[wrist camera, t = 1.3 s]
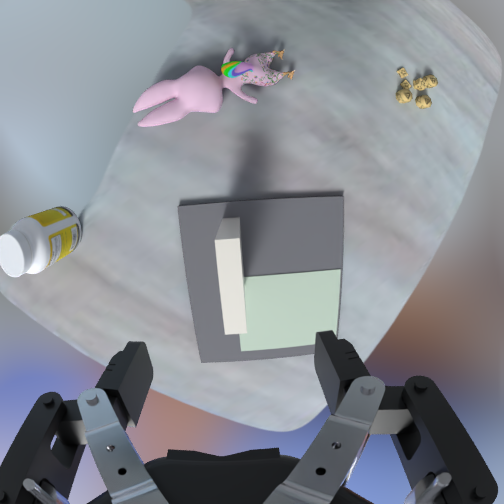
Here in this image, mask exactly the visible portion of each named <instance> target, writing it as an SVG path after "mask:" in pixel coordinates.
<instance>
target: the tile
mask: <svg viewBox="0 0 504 504" xmlns="http://www.w3.org/2000/svg"><path fill="white" fill-rule="evenodd" d="M215 249H216V259H217V269H218V278H219V288H220V296H221V305H222V314H223V322H224V330H225V335H228V334H244V333H247V321H246V301H245V283H244V270H243V257H242V243H241V230H240V217H236V218H223V219H222V222H221V224H220V227H219V230H218V232H217V235H216V238H215Z"/></svg>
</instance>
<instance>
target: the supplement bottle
mask: <svg viewBox="0 0 504 504" xmlns="http://www.w3.org/2000/svg"><path fill="white" fill-rule="evenodd" d="M81 233H82V231H81V225H80V222H79V219H78V217H77V216H76V214H75V213H74V212H73V211H72V210H71V209H69V208H67V207H62V206H61V207H56V208H52V209H49V210H46V211H43V212H40V213H37V214H34V215H31V216H28V217H25V218H22V219H20V220H19V221H17V222H16V223H15V225H14V226H13V228H12V230H10V231H8V232H6V233H4V234H2V235H1V236H0V265H1V267H2V268H3V270H4V271H5V272H6V273H7V274H8V275H9V276H11V277H19V276H20V275H22V274H24V273H30V274H35V273H39V272H41V271H42V270H44V269H46V268H47V267H49V266H50V265H52V264H53V263H55V262H57V261H58V260H60V259H61V258H63V257H65V256H66V255H68V254H69V253H71V252H72V251H74V250H75V249H76V248H77V246H78V245H79V243H80V240H81Z"/></svg>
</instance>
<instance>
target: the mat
mask: <svg viewBox="0 0 504 504" xmlns="http://www.w3.org/2000/svg"><path fill="white" fill-rule="evenodd" d="M178 215H179V224H180V233H181V241H182V249H183V257H184V264H185V271H186V278H187V285H188V291H189V297H190V304H191V310H192V316H193V321H194V327H195V333H196V338H197V343H198V349H199V354H200V359H201V363H207V362H231V361H248V360H261V359H273V358H283V357H292V356H301V355H309V354H315V337H316V332H321V331H328V330H333V332H334V333H335V335H336V337H337V336H338V325H339V313H340V299H341V283H342V261H343V196H322V197H296V198H276V199H259V200H244V201H230V202H217V203H205V204H194V205H184V206H178ZM236 217H240V230H241V243H242V257H243V270H244V283H245V301H246V321H247V333H244V334H228V335H225V330H224V322H223V314H222V305H221V296H220V288H219V278H218V269H217V259H216V249H215V238H216V235H217V232H218V230H219V227H220V224H221V222H222V219H223V218H236Z"/></svg>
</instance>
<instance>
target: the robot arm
mask: <svg viewBox="0 0 504 504" xmlns="http://www.w3.org/2000/svg"><path fill="white" fill-rule="evenodd" d="M314 364H315V370H316V373H317V376H318V378H319V381H320V384H321V387H322V390H323V392H324V395H325V398H326V401H327V404H328V406H329V409H330V412H331V415H330V416H329V417H328V419H327V420H326V422H325V424H324V425H323V427H322V428H321V430H320V432H319V433H318V435H317V436H316V438H315V439H314V441H313V442H312V444H311V445H310V447H309V448H308V450H307V451H306V453H305V454H304V455H303V457H302V458H301V459H298V458H295V457H291V456H287V455H280V452H279V448H270V449H257V450H249V451H245V452H241V453H237V454H232V455H228V456H216V455H211V454H206V453H202V452H197V451H186V450H168V453H167V457H162V458H158V459H154V460H152V461H149V462H147V463H146V464H144V463H143V461H142V460H141V458H140V456H139V454H138V453H137V451H136V449H135V448H134V446H133V444H132V442H131V441H130V439H129V437H128V435H127V433H126V432H125V430H126V428H127V426H129V427H136V426H137V423H138V420H139V417H140V414H141V411H142V408H143V405H144V402H145V399H146V396H147V394H148V390H149V388H150V385H151V382H152V379H153V367H152V364H151V360H150V357H149V354H148V350H147V347H146V344H145V343H144V342H133V341H129V342H128V343H127V345H126V347H125V348H124V350H123V351H119V352H118V353H117V354H116V355H114V356H113V357H112V359H111V360H110V362H109V365H107V367H106V370H105V371H104V372H103V374H102V376H101V378H100V379H99V381H98V383H97V385H96V386H95V388H91V389H87V390H85V391H84V392H82V393H81V394H80V395H79V397H78V399H77V400H68V401H63V399H62V397H61V396H60V394H58V393H56V392H48V393H45V394H43V395H41V396H40V397H39V398H38V400H37V401H36V403H35V404H34V406H33V408H32V409H31V411H30V413H29V415H28V416H27V418H26V420H25V421H24V423H23V425H22V427H21V428H20V430H19V432H18V434H17V435H16V437H15V439H14V441H13V443H12V445H11V447H10V448H9V450H8V452H7V454H6V456H5V458H4V460H3V462H2V464H1V466H0V504H70V503H69V501H68V497H69V494H70V491H71V487H72V484H73V481H74V478H75V475H76V472H77V469H78V466H79V463H80V460H81V457H82V454H83V452H84V449H85V446H86V444H88V445H89V448H90V450H91V453H92V455H93V458H94V460H95V463H96V465H97V468H98V470H99V472H100V474H101V477H102V479H103V481H104V483H105V485H106V487H107V491H106V492H104V493H102V494H101V495H99V496H98V497H96V498H95V499H93V500H92V501H90V502H89V503H87V504H374V503H372V502H370V501H368V500H366V499H365V498H363V497H361V496H360V495H358V494H356V493H354V492H353V491H351V490H349V489H348V488H346V487H345V486H346V484H347V483H348V481H349V479H350V477H351V475H352V473H353V470H354V469H355V466H356V464H357V462H358V460H359V458H360V456H361V454H362V452H363V450H364V447H365V446H366V443H367V441H368V439H369V437H370V434H390V436H391V438H392V440H393V443H394V445H395V448H396V450H397V452H398V455H399V458H400V460H401V463H402V465H403V468H404V470H405V473H406V475H407V478H408V480H409V483H410V486H411V489H412V491H411V492H410V493H409V494H408V496H407V497H406V499H405V502H404V504H492V503H493V502H494V501H495V499H496V497H497V494H498V486H497V483H496V481H495V479H494V477H493V476H492V474H491V472H490V470H489V468H488V466H487V465H486V463H485V461H484V459H483V458H482V456H481V454H480V453H479V451H478V449H477V448H476V446H475V444H474V442H473V441H472V439H471V438H470V436H469V434H468V433H467V431H466V429H465V428H464V426H463V425H462V423H461V422H460V420H459V418H458V417H457V416H456V414H455V412H454V411H453V409H452V408H451V406H450V405H449V403H448V402H447V400H446V399H445V397H444V396H443V394H442V393H441V391H440V390H439V388H438V387H437V386H436V384H435V383H434V382H433V381H432V380H431V379H429V378H428V377H424V376H413V377H411V378H409V379H408V380H407V381H406V383H405V385H404V386H385V385H384V383H383V382H382V381H381V380H380V379H378V378H376V377H372V376H371V375H370V374H369V372H368V370H367V369H366V367H365V365H364V364H363V362H362V360H361V359H360V358H359V355H358V354H357V352H356V350H355V349H354V347H353V345H352V344H351V343H350V342H348V341H347V340H345V339H339V340H338V339H337V337H336V335H335V333H334V332H333V330H328V331H321V332H316V337H315V355H314ZM54 435H56V436H57V438H56V441H55V443H54V445H53V447H52V450H51V448H50V445H51V442H52V440H53V437H54Z"/></svg>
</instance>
